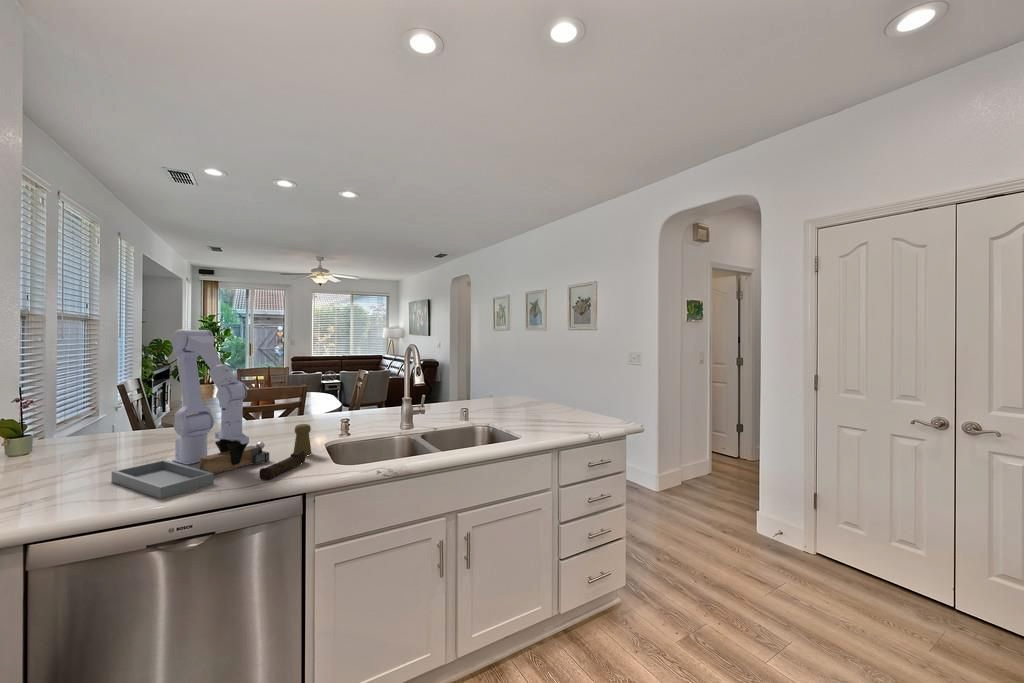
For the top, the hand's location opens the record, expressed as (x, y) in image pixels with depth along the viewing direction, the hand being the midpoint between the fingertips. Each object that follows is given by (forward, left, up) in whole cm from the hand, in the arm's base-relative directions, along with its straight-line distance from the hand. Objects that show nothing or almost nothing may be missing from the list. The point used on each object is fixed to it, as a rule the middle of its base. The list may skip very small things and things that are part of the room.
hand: (231, 462), depth 137 cm
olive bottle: (+7, +21, -2) cm, 22 cm away
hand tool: (+17, +7, -2) cm, 18 cm away
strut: (0, 0, -1) cm, 1 cm away
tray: (-3, -17, -2) cm, 18 cm away
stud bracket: (0, +8, -1) cm, 8 cm away
